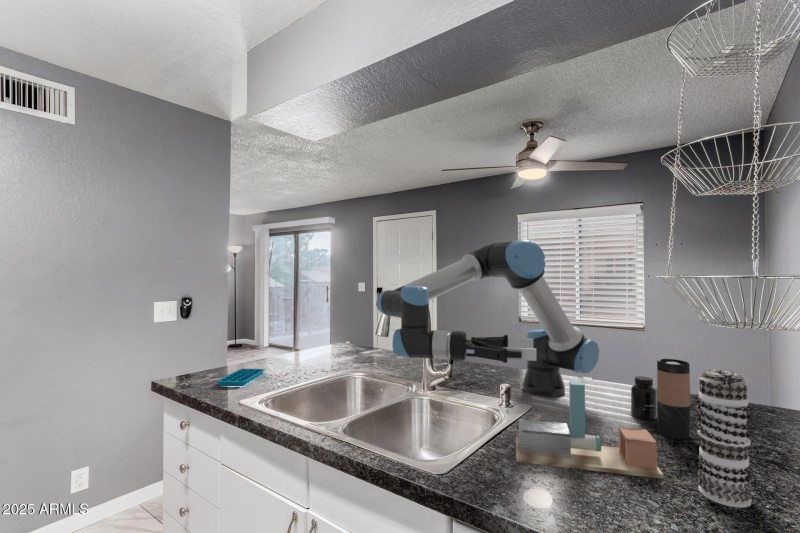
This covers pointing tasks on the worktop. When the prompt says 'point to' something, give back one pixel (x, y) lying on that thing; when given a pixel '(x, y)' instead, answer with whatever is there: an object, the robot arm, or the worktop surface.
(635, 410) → the supplement bottle
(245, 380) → the ice cube tray
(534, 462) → the base board
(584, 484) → the worktop surface
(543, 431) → the sleeve
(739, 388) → the decorative candle
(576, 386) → the slip tube
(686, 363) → the travel mug
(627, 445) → the socket
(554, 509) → the worktop surface
